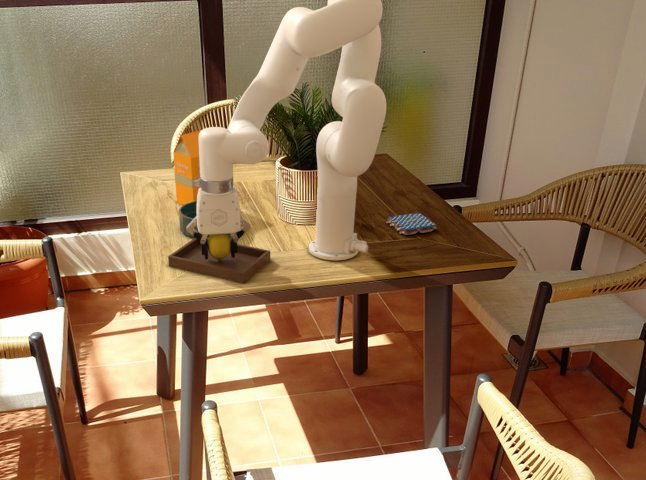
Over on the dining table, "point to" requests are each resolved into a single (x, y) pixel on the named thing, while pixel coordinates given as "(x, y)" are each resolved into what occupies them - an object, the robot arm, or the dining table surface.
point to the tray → (220, 261)
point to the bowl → (188, 217)
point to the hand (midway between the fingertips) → (219, 255)
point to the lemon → (219, 245)
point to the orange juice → (187, 167)
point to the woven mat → (411, 223)
